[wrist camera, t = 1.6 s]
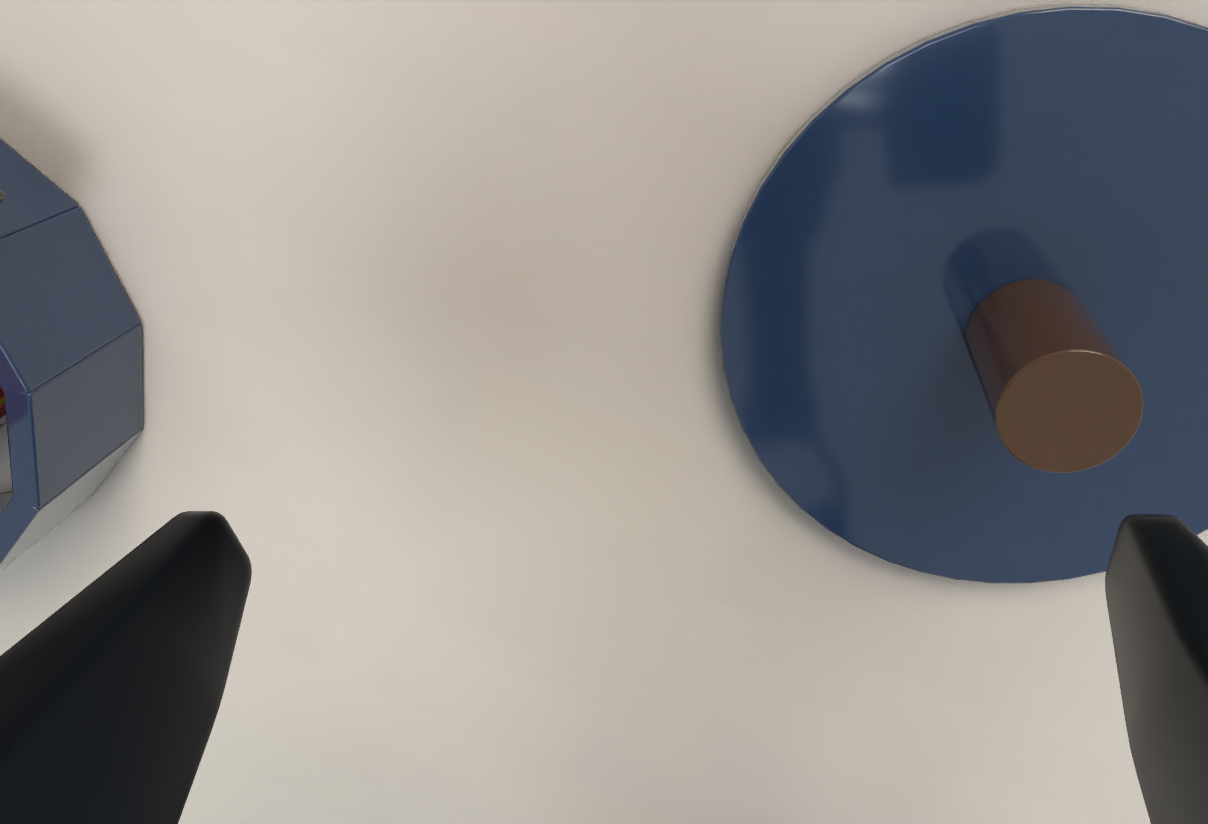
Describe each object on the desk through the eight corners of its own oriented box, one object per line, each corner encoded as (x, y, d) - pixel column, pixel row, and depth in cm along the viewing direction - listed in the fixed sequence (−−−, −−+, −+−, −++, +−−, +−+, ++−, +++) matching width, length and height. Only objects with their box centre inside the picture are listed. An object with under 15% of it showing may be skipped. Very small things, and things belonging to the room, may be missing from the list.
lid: (1128, 643, 26) (1188, 778, 22) (642, 454, 26) (613, 554, 22) (1522, 151, 20) (1712, 214, 16) (877, -101, 20) (898, -104, 16)
